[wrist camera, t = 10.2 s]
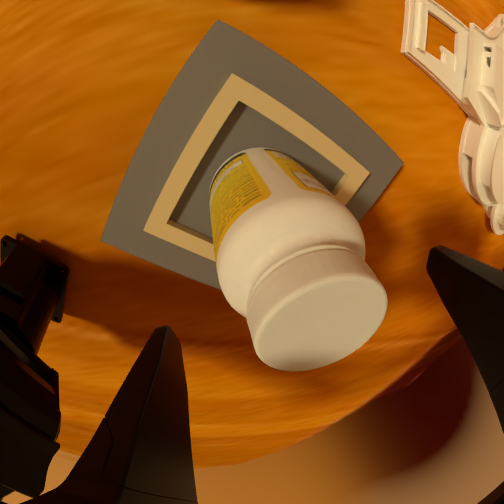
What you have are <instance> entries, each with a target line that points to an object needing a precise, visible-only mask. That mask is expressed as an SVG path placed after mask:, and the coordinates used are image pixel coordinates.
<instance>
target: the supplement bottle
mask: <svg viewBox="0 0 504 504" xmlns="http://www.w3.org/2000/svg"><path fill="white" fill-rule="evenodd" d="M209 206H210V216H211V226H212V235H213V245H214V253H215V261H216V268H217V274H218V279H219V284H220V287H221V290H222V292H223V294H224V296H225V298H226V300H227V301H228V303H229V304H230V306H231V307H232V308H233V309H234V310H235V311H237V312H238V313H239V314H240V315H242V316H243V317H245V318H247V324H248V327H249V330H250V334H251V337H252V341H253V345H254V349H255V352H256V354H257V355H258V357H259V358H260V359H261V360H262V361H263V362H264V363H265V364H267V365H268V366H270V367H272V368H275V369H278V370H284V371H305V370H311V369H316V368H320V367H323V366H326V365H329V364H332V363H334V362H336V361H338V360H340V359H342V358H344V357H346V356H348V355H349V354H351V353H353V352H354V351H355V350H357V349H358V348H360V347H361V346H362V345H363V344H364V343H365V342H367V341H368V340H369V339H370V338H371V336H372V335H373V334H374V333H375V332H376V330H377V329H378V328H379V326H380V325H381V323H382V321H383V319H384V316H385V314H386V310H387V304H388V299H387V294H386V291H385V289H384V287H383V285H382V284H381V282H380V281H379V280H378V278H377V277H376V275H375V274H374V272H373V271H372V269H371V268H370V267H369V266H368V264H367V263H366V262H365V240H364V235H363V232H362V229H361V227H360V225H359V223H358V221H357V220H356V219H355V217H354V216H353V215H352V213H351V212H350V211H349V210H348V209H347V208H346V207H345V206H344V205H343V204H342V203H341V202H340V201H339V200H338V199H337V198H336V197H335V196H334V195H333V194H331V193H330V192H329V191H328V190H327V189H326V188H325V187H324V186H323V185H322V184H321V183H320V182H319V181H317V180H316V179H315V178H314V177H313V176H312V175H311V174H310V173H309V172H307V171H306V170H305V169H304V168H303V167H302V166H301V165H299V164H298V163H297V162H296V161H295V160H293V159H292V158H291V157H289V156H288V155H286V154H285V153H283V152H280V151H278V150H275V149H271V148H265V147H257V148H250V149H246V150H243V151H240V152H238V153H236V154H234V155H233V156H231V157H230V158H228V159H227V160H226V161H225V162H224V163H223V164H222V165H221V166H220V167H219V169H218V170H217V171H216V173H215V175H214V177H213V179H212V182H211V185H210V191H209Z"/></svg>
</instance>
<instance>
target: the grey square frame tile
mask: <svg viewBox="0 0 504 504" xmlns="http://www.w3.org/2000/svg"><path fill="white" fill-rule="evenodd" d="M257 147H265V148H271V149H275V150H278V151H280V152H283V153H285V154H286V155H288V156H289V157H291V158H292V159H293V160H295V161H296V162H297V163H298V164H299V165H301V166H302V167H303V168H304V169H305V170H306V171H307V172H309V173H310V174H311V175H312V176H313V177H314V178H315V179H316V180H317V181H319V182H320V183H321V184H322V185H323V186H324V187H325V188H326V189H327V190H328V191H329V192H330V193H331V194H333V195H334V196H335V197H336V198H337V199H338V200H339V201H340V202H341V203H342V204H343V205H344V206H345V207H346V208H347V209H348V210H349V211H350V212H351V213H352V215H353V216H354V217H355V219H356V220H357V221H358V223H359V222H360V221H361V220H362V218H363V217H364V216H365V215H366V213H367V212H368V211H369V209H370V208H371V207H372V205H373V204H374V203H375V201H376V200H377V199H378V198H379V196H380V195H381V194H382V192H383V191H384V190H385V188H386V187H387V185H388V184H389V183H390V181H391V180H392V179H393V177H394V176H395V174H396V173H397V172H398V170H399V169H400V168H401V166H402V165H403V163H404V162H403V161H402V160H401V159H400V158H399V157H398V156H397V155H396V154H395V152H394V151H393V150H392V149H391V148H390V147H389V146H388V145H387V144H386V143H385V142H384V141H383V140H382V139H381V138H380V137H379V136H378V135H377V134H376V133H375V132H374V131H373V130H372V129H371V128H370V127H369V126H368V125H367V124H366V123H365V122H364V121H363V120H362V119H361V118H360V117H358V116H357V115H356V114H355V113H354V112H353V111H352V110H351V109H350V108H348V107H347V106H346V105H345V104H344V103H343V102H342V101H340V100H339V99H338V98H337V97H336V96H334V95H333V94H332V93H331V92H330V91H328V90H327V89H326V88H325V87H323V86H322V85H321V84H319V83H318V82H317V81H316V80H314V79H313V78H312V77H310V76H309V75H308V74H306V73H305V72H304V71H302V70H301V69H299V68H298V67H297V66H295V65H294V64H292V63H291V62H289V61H288V60H286V59H285V58H283V57H282V56H280V55H279V54H277V53H276V52H274V51H273V50H271V49H270V48H268V47H266V46H265V45H263V44H261V43H260V42H258V41H256V40H255V39H253V38H251V37H250V36H248V35H246V34H244V33H242V32H241V31H239V30H237V29H235V28H233V27H231V26H229V25H227V24H225V23H223V22H221V21H219V20H217V21H216V22H215V23H214V25H213V26H212V27H211V28H210V30H209V31H208V32H207V34H206V35H205V36H204V38H203V39H202V40H201V42H200V43H199V45H198V46H197V47H196V49H195V50H194V52H193V53H192V54H191V56H190V57H189V59H188V60H187V62H186V63H185V65H184V66H183V68H182V69H181V71H180V72H179V74H178V75H177V77H176V79H175V80H174V82H173V83H172V85H171V87H170V88H169V90H168V92H167V93H166V95H165V97H164V98H163V100H162V102H161V104H160V105H159V107H158V109H157V111H156V113H155V114H154V116H153V118H152V120H151V122H150V124H149V126H148V128H147V130H146V131H145V133H144V135H143V137H142V139H141V141H140V143H139V146H138V148H137V150H136V152H135V154H134V156H133V158H132V160H131V163H130V165H129V167H128V169H127V172H126V174H125V176H124V179H123V181H122V183H121V186H120V188H119V191H118V193H117V196H116V198H115V201H114V204H113V206H112V209H111V212H110V214H109V217H108V220H107V223H106V226H105V229H104V232H103V235H102V238H101V241H102V242H104V243H107V244H109V245H111V246H113V247H116V248H118V249H120V250H123V251H125V252H127V253H130V254H132V255H134V256H137V257H139V258H141V259H144V260H146V261H149V262H151V263H153V264H156V265H158V266H161V267H163V268H166V269H168V270H171V271H173V272H176V273H178V274H181V275H183V276H186V277H188V278H191V279H193V280H196V281H198V282H201V283H204V284H206V285H209V286H212V287H214V288H217V289H219V290H221V287H220V284H219V279H218V274H217V268H216V261H215V253H214V245H213V235H212V226H211V216H210V206H209V191H210V185H211V182H212V179H213V177H214V175H215V173H216V171H217V170H218V169H219V167H220V166H221V165H222V164H223V163H224V162H225V161H226V160H227V159H228V158H230V157H231V156H233V155H234V154H236V153H238V152H240V151H243V150H246V149H250V148H257Z"/></svg>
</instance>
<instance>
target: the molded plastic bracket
mask: <svg viewBox="0 0 504 504" xmlns="http://www.w3.org/2000/svg"><path fill="white" fill-rule="evenodd" d="M428 13H429V14H431V15H432V16H433V17H435V18H436V19H438V20H439V21H440V22H442V23H443V24H444V25H446V26H447V27H448V28H450V29H451V30H452V31H454V32H455V46H454V54H453V53H451V52H450V51H449V50H447V49H446V48H444V47H443V46H440V51H441V60H439V59H437V58H436V57H434V56H433V55H431V54H429V53H428V52H426V51H425V47H426V37H427V24H428ZM401 53H402V54H403V55H404V56H406V57H407V58H408V59H409V60H411V61H412V62H413V63H414V64H416V65H417V66H418V67H419V68H420V69H421V70H423V71H424V72H425V73H426V74H427V75H428V76H429V77H430V78H432V79H433V80H434V81H435V82H436V83H437V84H438V85H439V86H440V87H441V88H442V89H443V90H444V91H445V92H446V93H447V94H448V95H449V96H450V97H451V98H452V99H453V100H454V101H455V102H456V103H457V104H458V105H459V106H460V107H461V109H462V110H463V111H464V112H465V113H466V114H467V115H468V118H467V120H466V123H465V125H464V128H463V131H462V135H461V140H460V147H459V173H460V178H461V181H462V184H463V187H464V189H465V190H466V191H467V192H468V193H469V194H470V195H471V196H472V197H473V198H475V199H476V200H477V201H478V202H479V203H480V204H481V205H482V206H483V208H484V210H485V212H486V215H487V217H489V218H490V219H491V220H490V224H491V229H492V231H493V232H494V233H495V234H497V235H501V234H503V233H504V14H499V15H498V16H497V17H496V18H495V19H494V20H493V22H492V23H491V24H490V25H489V26H488V27H487V28H486V29H485V30H484V31H483V30H482V29H481V28H479V27H478V26H477V25H476V24H474V23H470V29H469V28H467V27H466V26H465V25H464V24H463V23H462V22H461V21H459V20H458V19H457V18H456V17H455V16H453V15H452V14H451V13H450V12H448V11H447V10H446V9H444V8H443V7H442V6H440V5H439V4H438V3H436V2H435V1H434V0H406V2H405V16H404V28H403V37H402V46H401Z"/></svg>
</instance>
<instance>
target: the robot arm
mask: <svg viewBox="0 0 504 504" xmlns="http://www.w3.org/2000/svg"><path fill="white" fill-rule="evenodd" d="M6 242H7V243H6ZM426 268H427V272H428V274H429V276H430V278H431V280H432V282H433V284H434V286H435V288H436V290H437V292H438V294H439V296H440V298H441V300H442V302H443V304H444V306H445V307H446V309H447V311H448V313H449V314H450V316H451V318H452V319H453V321H454V323H455V325H456V326H457V328H458V330H459V332H460V334H461V335H462V337H463V339H464V341H465V343H466V345H467V347H468V348H469V351H470V353H471V355H472V357H473V359H474V361H475V363H476V365H477V367H478V369H479V371H480V373H481V376H482V378H483V380H484V382H485V384H486V387H487V389H488V392H489V395H490V397H491V400H492V402H493V404H494V407H495V410H496V413H497V415H498V418H499V421H500V424H501V427H502V430H503V433H504V272H503V271H500V270H498V269H496V268H494V267H492V266H489V265H487V264H485V263H482V262H480V261H478V260H476V259H473V258H471V257H468V256H466V255H464V254H461V253H459V252H456V251H454V250H451V249H449V248H446V247H444V246H441V245H439V246H436V247H433V248H431V250H430V252H429V257H428V261H427V266H426ZM61 270H62V271H64V272H62V271H61ZM68 277H69V268H68V267H67V266H66V265H64V264H62V263H60V262H58V261H56V260H54V259H52V258H50V257H48V256H46V255H44V254H42V253H40V252H38V251H36V250H34V249H32V248H30V247H28V246H26V245H24V244H22V243H20V242H19V241H17V240H15V239H13V238H11V237H9V236H7V235H4V237H3V238H2V239H1V265H0V504H7V503H5V502H2V499H3V497H5V496H7V495H9V494H11V493H12V492H14V491H16V492H19V493H21V494H24V495H26V496H29V497H31V498H33V499H30V500H28V501H25V502H23V503H20V504H198V502H197V495H196V487H195V479H194V471H193V460H192V450H191V438H190V425H189V409H188V392H187V383H186V377H185V371H184V364H183V357H182V350H181V344H180V342H179V340H178V338H177V337H176V335H175V334H174V332H173V331H172V329H171V328H170V327H169V326H161V327H157V328H156V329H155V330H154V332H153V333H152V335H151V337H150V338H149V340H148V342H147V343H146V345H145V346H144V348H143V350H142V352H141V353H140V355H139V357H138V358H137V360H136V362H135V363H134V365H133V367H132V368H131V370H130V372H129V374H128V375H127V377H126V379H125V381H124V382H123V384H122V386H121V388H120V389H119V391H118V393H117V395H116V396H115V398H114V400H113V402H112V404H111V405H110V407H109V409H108V411H107V413H106V414H105V418H103V420H102V422H101V423H100V425H99V427H98V429H97V431H96V432H95V434H94V436H93V438H92V440H91V441H90V443H89V444H88V446H87V448H86V449H85V451H84V452H83V454H82V455H81V457H80V458H79V460H78V461H77V463H76V464H75V466H74V468H73V469H72V471H71V472H70V474H69V475H68V477H67V478H66V480H65V481H64V482H63V483H62V484H61V485H59V486H58V487H57V488H56V489H53V490H51V491H49V492H47V493H45V494H42V495H40V494H41V493H42V492H43V490H44V487H45V481H46V475H47V470H48V467H49V464H50V462H51V460H52V458H53V456H54V455H55V453H56V452H57V451H58V450H59V448H60V444H59V443H58V442H56V440H57V438H58V435H59V431H60V423H61V412H60V407H59V374H58V372H56V371H55V370H54V369H53V368H50V367H49V366H48V365H47V364H46V363H44V362H43V361H42V360H41V359H40V358H39V357H38V356H37V354H38V351H39V348H40V346H41V343H42V340H43V338H44V335H45V333H46V330H47V328H48V325H49V323H50V320H52V321H54V322H57V323H60V322H61V320H62V318H63V310H64V302H65V295H66V289H67V283H68ZM39 495H40V496H39ZM478 504H504V481H503V482H502V483H501V484H500V485H499V486H498V487H497V488H496V489H495V490H493V491H492V492H491V493H490V494H489V495H488V496H486V497H485V498H484V499H483V500H481V501H480V502H479V503H478Z"/></svg>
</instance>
